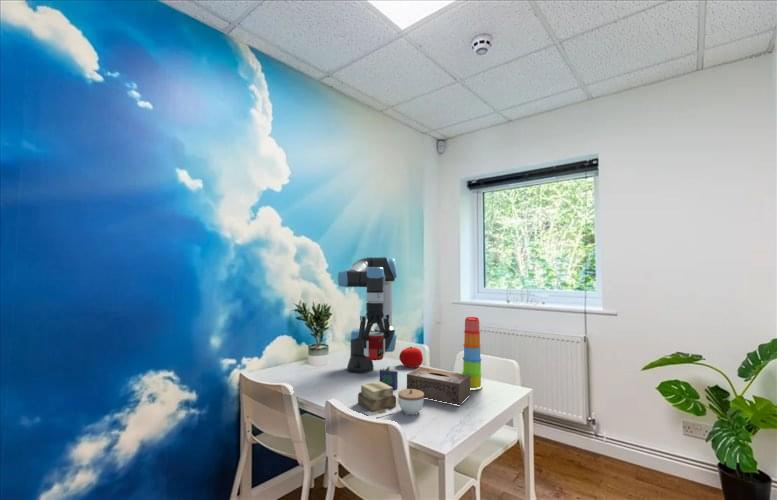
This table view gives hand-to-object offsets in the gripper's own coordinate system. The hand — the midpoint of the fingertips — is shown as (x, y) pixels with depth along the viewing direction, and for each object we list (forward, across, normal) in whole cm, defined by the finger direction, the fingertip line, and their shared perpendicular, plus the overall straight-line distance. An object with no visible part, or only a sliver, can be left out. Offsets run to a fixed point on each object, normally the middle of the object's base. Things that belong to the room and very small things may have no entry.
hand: (374, 354), depth 162 cm
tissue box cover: (+22, +31, -6) cm, 39 cm away
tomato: (+21, +49, +39) cm, 66 cm away
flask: (+22, +16, +14) cm, 31 cm away
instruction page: (+22, -3, -9) cm, 24 cm away
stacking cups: (+22, +53, -6) cm, 57 cm away
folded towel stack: (+22, +1, -1) cm, 22 cm away
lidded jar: (+22, +9, -15) cm, 28 cm away
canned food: (+2, 0, 0) cm, 2 cm away
